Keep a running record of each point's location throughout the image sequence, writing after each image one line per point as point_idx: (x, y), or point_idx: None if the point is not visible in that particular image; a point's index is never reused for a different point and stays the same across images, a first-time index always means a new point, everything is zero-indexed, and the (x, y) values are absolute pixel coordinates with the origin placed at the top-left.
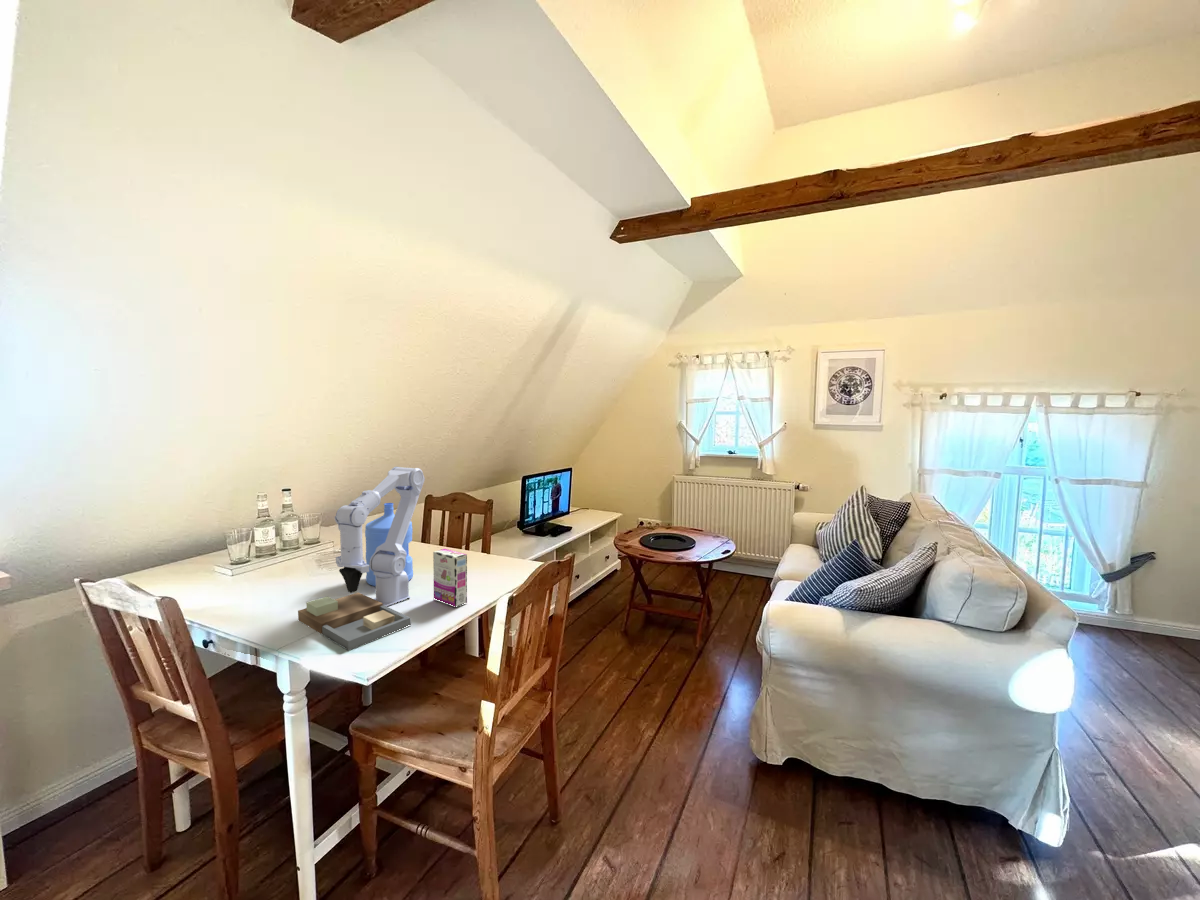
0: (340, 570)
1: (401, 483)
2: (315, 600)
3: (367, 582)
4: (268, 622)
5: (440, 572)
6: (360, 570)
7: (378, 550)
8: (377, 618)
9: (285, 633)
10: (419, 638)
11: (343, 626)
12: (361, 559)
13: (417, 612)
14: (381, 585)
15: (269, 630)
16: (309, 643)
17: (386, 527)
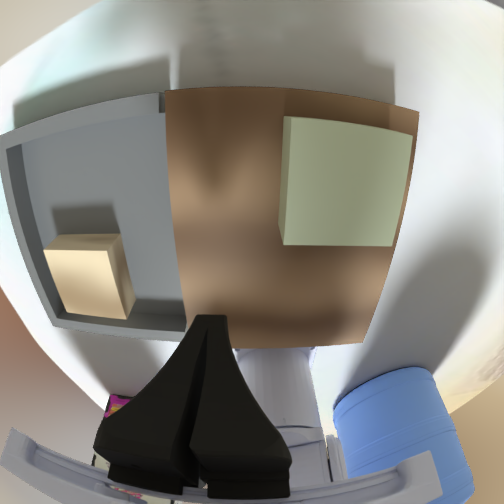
0: (235, 456)
1: None
2: (397, 179)
3: (414, 369)
4: (452, 58)
5: None
6: (60, 458)
7: None
8: (67, 273)
9: (315, 15)
10: (6, 281)
11: (161, 179)
12: None
13: (134, 360)
14: (260, 403)
15: (390, 11)
16: (139, 38)
17: None
